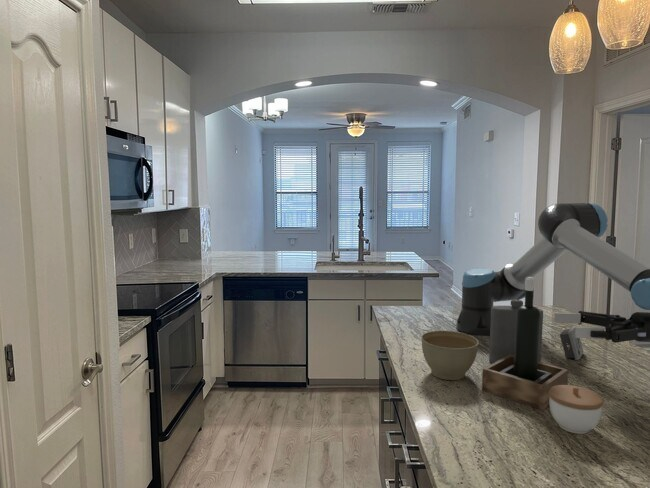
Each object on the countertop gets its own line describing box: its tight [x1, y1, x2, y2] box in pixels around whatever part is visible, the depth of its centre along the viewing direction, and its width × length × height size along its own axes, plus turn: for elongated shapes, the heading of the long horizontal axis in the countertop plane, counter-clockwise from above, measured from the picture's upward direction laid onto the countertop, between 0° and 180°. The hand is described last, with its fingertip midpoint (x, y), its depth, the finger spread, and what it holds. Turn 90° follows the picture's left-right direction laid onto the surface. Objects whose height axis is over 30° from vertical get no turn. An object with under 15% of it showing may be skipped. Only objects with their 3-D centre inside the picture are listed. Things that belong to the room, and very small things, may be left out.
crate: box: [481, 355, 569, 411], centre depth 123 cm, size 16×16×6 cm
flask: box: [488, 299, 544, 364], centre depth 142 cm, size 15×6×20 cm, turn 76°
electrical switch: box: [559, 325, 584, 361], centre depth 149 cm, size 9×5×9 cm, turn 141°
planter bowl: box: [420, 330, 479, 381], centre depth 133 cm, size 16×16×11 cm
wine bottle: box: [514, 277, 540, 381], centre depth 121 cm, size 6×6×30 cm
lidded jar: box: [549, 384, 604, 435], centre depth 103 cm, size 11×11×9 cm
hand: (564, 324), depth 120 cm, fingers open, 13 cm apart
